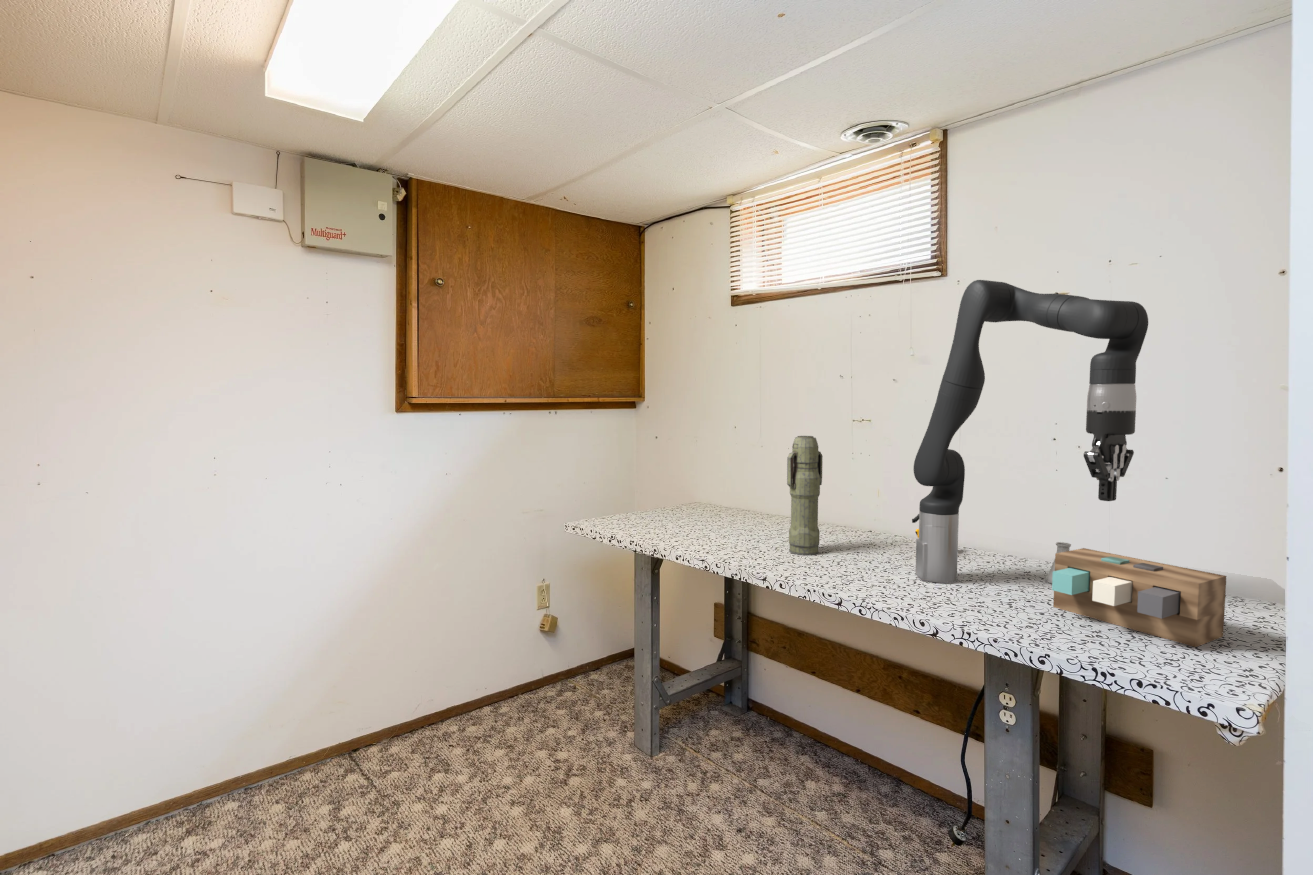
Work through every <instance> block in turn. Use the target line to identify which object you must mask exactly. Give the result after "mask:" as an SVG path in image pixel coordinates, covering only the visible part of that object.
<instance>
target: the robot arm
mask: <svg viewBox="0 0 1313 875" xmlns="http://www.w3.org/2000/svg"><path fill="white" fill-rule="evenodd" d="M958 308H959V309H958V312H957V313H958V314H957V318H956V323H955V329H954V335H953V340H952V343H951V347H950V352H949V355H948V359H947V363H946V365H945V366H946V367H945V370H944V372H943V375H942V378H941V380H940V381H941V382H940V385H939V389H938V391H937V392H938V393H937V397H936V400H935V404H934V407H933V410H932V413H931V417H930V420H929V422H928V426H927V429H926V431H925V433H924V436H923V438H922V440H921V443H920V445H919V447H918V449H917V453H916V455H915V458H914V462H913V475H914V478H915V480H916V482H918V483H919V484H920V485H922V486H923V487H932V489H931V491H930V492H929V493H928V494H927V495H926V496H924V497H923V498H922V499H921V500H920V502H919V508H918V509H919V513H918V514H919V520H918V521H919V522H918V529H919V538H916V540H915V576H916V577H917V578H918V579H920V580H921V581H923V582H924V581H925V582H931V583H938V584H939V583H940V584H950V583H956V582H957V581H958V561H959V560H958V558H959V556H958V555H959V553H958V552H959V550H958V549H959V526H960V525H959V523H960V522H959V519H960V515H959V514H960V506H961V505H962V502H963V498H964V488H965V479H966V478H965V476H966V472H965V471H966V469H965V467H966V466H965V462H964V458H963V457H962V455H961V454H960V453H959V452H958V451H956V450H955V449H949V447H950V445H951V442H952V439H954V438H953V437H954V436H955V434H956V433H957V432H958V430H959V429H960V428H961V427H962V426H963V424H964V423H965V422H966V421H967V420H968V419H969V417H970V416H971V415H972V414H973V412H974V411H975V410H976V408H977V406H978V403H979V401H980V397H981V395H982V392H983V389H984V386H985V382H986V381H985V380H986V376H985V375H986V374H985V370H984V369H985V368H984V364H983V361H982V356H981V353H980V338H981V334H982V331H983V330H982V329H983V326H984V325H985V324H984V323H985V322H987V323H1003V322H1030V323H1033V324H1035V325H1038V326H1040V327H1043V328H1046V329H1048V328H1049V329H1052V330H1057V331H1064V332H1070V333H1075V334H1078V335H1081V336H1083V337H1086V338H1087V337H1088V338H1093V339H1097V340H1098V339H1099V340H1100V339H1101V340H1108V343H1107V346H1106V348H1105V351H1103V352H1100V353H1097V354H1095V355H1093V356H1092V357H1091V359H1090V363H1089V381H1088V382H1089V386H1088V392H1087V399H1086V416H1085V417H1086V418H1085V432H1086V433H1087V434H1089V435H1090V434H1091V435H1093V439H1092V442H1091V450H1090V451H1084V452H1083V458H1084V461H1085V463H1086V466H1087V468H1088V472H1089V474H1090V476H1091V478H1096V481H1098V497H1097V498H1098V500H1099V501H1103V502H1112V501H1116V500H1117V489H1118V488H1117V486H1118V482H1119V480H1120V479H1121V478H1124V477H1125V476H1126V473H1127V471H1128V468H1129V467H1130V464H1131V461H1132V459H1133V456H1134V454H1135V452H1134V451H1135V450H1133V449H1129V448H1127V445H1128V444H1127V438H1126V437H1127V436H1128V435H1133V434H1135V432H1136V417H1137V416H1136V414H1137V413H1136V412H1137V390H1136V379H1137V378H1136V377H1137V376H1136V375H1137V360H1138V358H1139V356H1140V353H1141V351H1142V347H1143V345H1144V341H1145V339H1146V336H1147V332H1148V327H1149V316H1148V312H1147V310H1146V308H1145V307H1144V306H1143V305H1142V304H1140V303H1139V302H1137V301H1130V300H1129V301H1128V300H1110V299H1109V300H1108V299H1092V298H1088V297H1085V296H1080V295H1072V294H1063V293H1037V292H1032V291H1029V290H1026V289H1024V288H1021V287H1019V286H1018V287H1017V286H1016V285H1012V284H1011V283H1007V282H1005V281H1004V282H1003V281H996V280H987V279H976V280H973V281H972V282H971V283H969V284H968V285H967V287H966V288H965V290H964V292H963V294H962V296H961V301H960V304H959V307H958Z"/></svg>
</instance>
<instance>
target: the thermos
mask: <svg viewBox="0 0 1313 875" xmlns="http://www.w3.org/2000/svg"><path fill="white" fill-rule="evenodd" d="M791 447H792V448H791V449H792V450H791V452H790V453H789V454H788V456H787V460H786V462H787V463H786V470H787V471H786V475H787V476H786V484H787V486H788V487H789V494H790V499H791V500H790V503H791V504H790V527H789V528H788V529H789V530H788V543H789V548H788V550H789V551H788V552H789V553H791V554H793V555H797V556H816V555H818V554H819V552H820V550H819V546H820V531H821V530H820V529H819V496H820V495H821V486H822V484H823V454H822V452H821V451H820V450H819V444H818V441H817V438H816V437H814V436H813V435H797V436H796V437H794V440H793V443H792V446H791Z"/></svg>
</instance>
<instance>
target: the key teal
mask: <svg viewBox="0 0 1313 875" xmlns="http://www.w3.org/2000/svg"><path fill="white" fill-rule="evenodd" d="M1051 590H1052V591H1053V592H1054V591H1058V592H1062V593H1065V594H1069V595H1074V594H1078V593H1082V592H1086V591H1090V571H1087V570H1082V569H1078V568H1073V567H1071V568H1067V569H1062V570H1057V571H1053V576H1052V583H1051Z"/></svg>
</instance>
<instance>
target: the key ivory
mask: <svg viewBox="0 0 1313 875" xmlns="http://www.w3.org/2000/svg"><path fill="white" fill-rule="evenodd" d="M1132 594H1133V581H1131V580H1127V579H1122V578H1118V577H1113V576H1112V577H1108V578H1103V579H1099V580H1095V581H1093V595H1092V601H1096V602H1100V603H1104V604H1108V605H1111V606H1117V605H1120V604H1124V603H1127V602H1131V601H1132Z"/></svg>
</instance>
